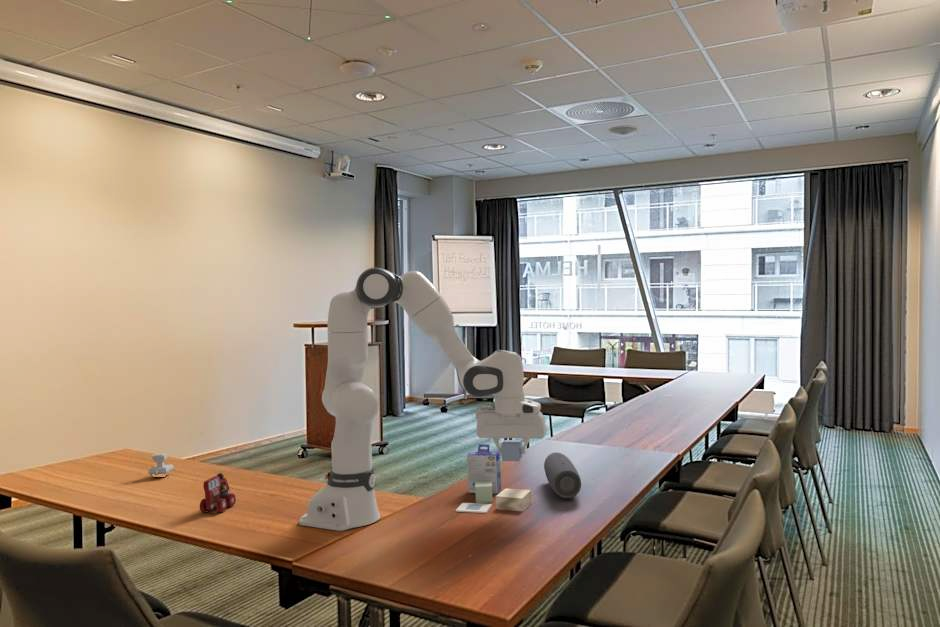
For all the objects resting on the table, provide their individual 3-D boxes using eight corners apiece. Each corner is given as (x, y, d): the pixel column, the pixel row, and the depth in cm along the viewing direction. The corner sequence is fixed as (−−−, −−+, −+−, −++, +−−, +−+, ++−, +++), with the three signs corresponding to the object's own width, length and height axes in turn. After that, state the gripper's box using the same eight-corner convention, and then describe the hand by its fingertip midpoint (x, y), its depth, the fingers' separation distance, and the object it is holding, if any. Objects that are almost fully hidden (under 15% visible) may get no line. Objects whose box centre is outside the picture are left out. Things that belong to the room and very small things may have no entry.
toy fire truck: (239, 502, 203) (237, 469, 203) (218, 516, 191) (216, 481, 190) (218, 502, 204) (217, 470, 204) (196, 515, 192) (194, 481, 191)
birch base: (496, 509, 186) (495, 496, 186) (506, 501, 193) (505, 488, 193) (522, 512, 183) (522, 498, 182) (531, 503, 190) (531, 490, 190)
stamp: (165, 479, 236) (164, 456, 236) (146, 480, 235) (145, 457, 235) (175, 473, 245) (174, 450, 245) (157, 474, 244) (156, 451, 244)
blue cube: (501, 461, 186) (501, 443, 186) (505, 456, 191) (504, 439, 190) (519, 461, 184) (518, 444, 184) (522, 457, 189) (521, 440, 189)
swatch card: (455, 511, 185) (455, 509, 185) (462, 504, 191) (462, 502, 191) (486, 513, 182) (486, 511, 182) (492, 505, 189) (491, 503, 189)
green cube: (475, 503, 192) (475, 486, 192) (476, 498, 197) (475, 482, 197) (492, 502, 192) (492, 486, 192) (492, 497, 197) (491, 481, 197)
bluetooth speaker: (584, 501, 189) (582, 467, 188) (552, 503, 189) (551, 469, 188) (571, 480, 211) (570, 450, 211) (543, 481, 211) (541, 451, 211)
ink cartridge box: (502, 489, 205) (500, 443, 205) (498, 494, 200) (496, 447, 199) (472, 488, 207) (470, 443, 207) (467, 493, 202) (465, 447, 202)
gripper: (472, 407, 187) (474, 455, 187) (542, 407, 181) (544, 456, 182) (478, 404, 193) (480, 450, 193) (546, 403, 188) (548, 451, 188)
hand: (512, 453), depth 187 cm, fingers closed on blue cube, 5 cm apart
